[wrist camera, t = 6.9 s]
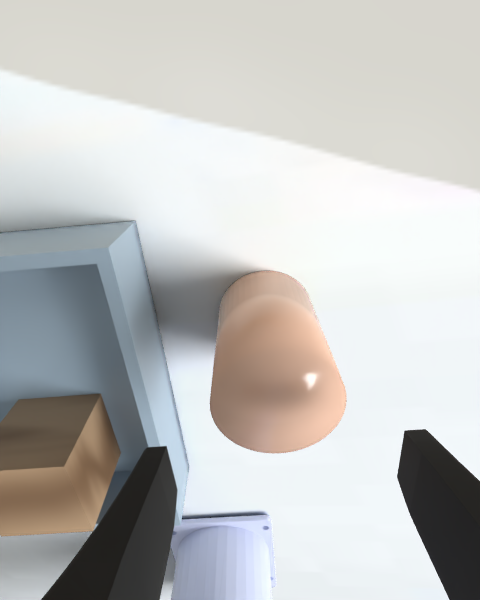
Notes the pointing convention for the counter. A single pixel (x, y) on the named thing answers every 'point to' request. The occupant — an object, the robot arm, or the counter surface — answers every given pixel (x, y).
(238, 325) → the terracotta cylinder
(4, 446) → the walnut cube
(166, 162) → the counter surface
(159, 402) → the tote
